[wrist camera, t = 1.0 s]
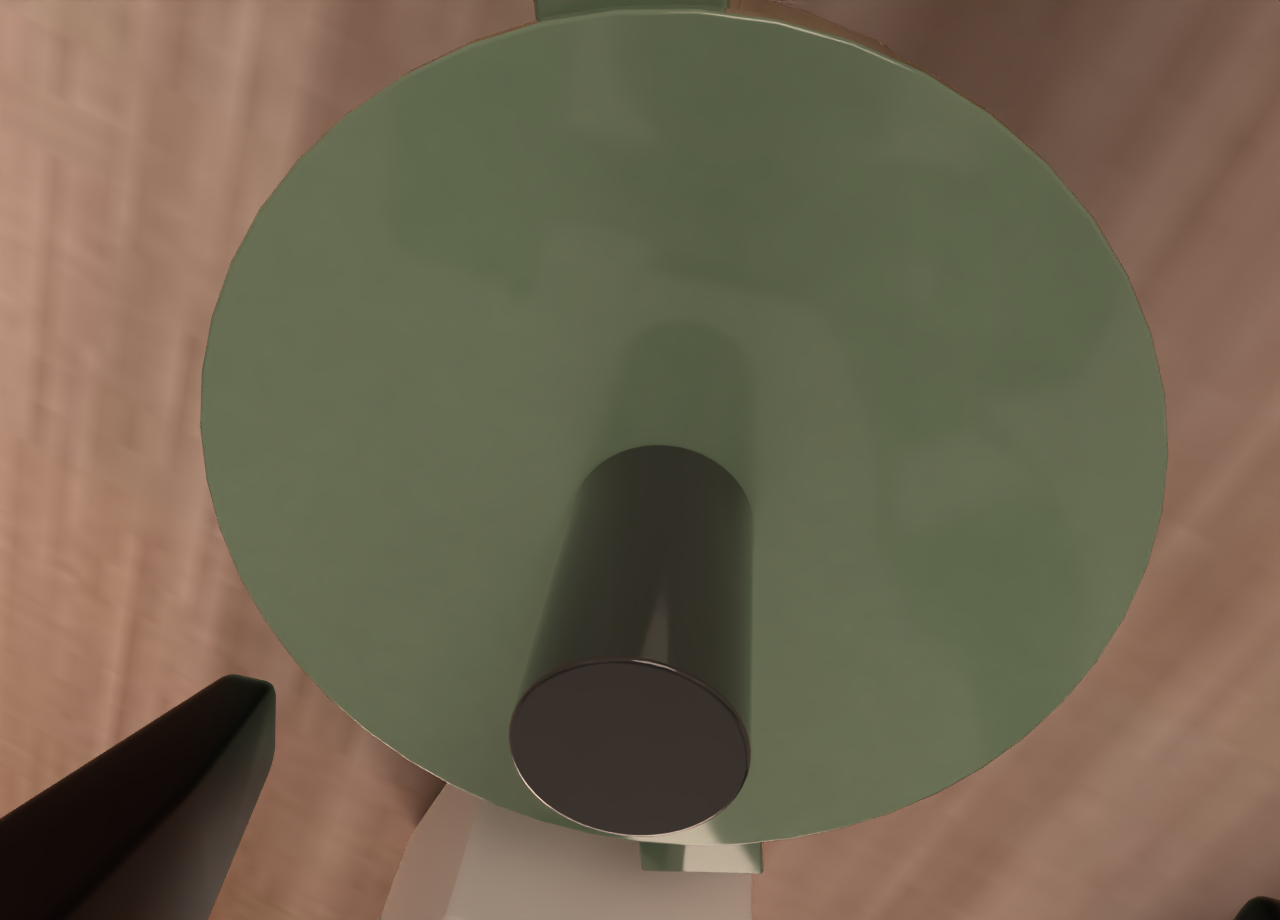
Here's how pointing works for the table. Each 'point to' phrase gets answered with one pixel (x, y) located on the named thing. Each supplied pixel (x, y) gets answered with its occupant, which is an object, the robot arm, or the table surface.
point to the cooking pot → (675, 856)
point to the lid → (684, 425)
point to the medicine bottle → (542, 873)
